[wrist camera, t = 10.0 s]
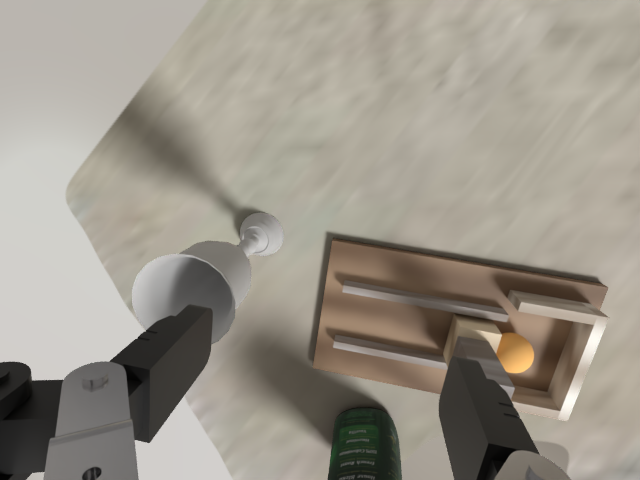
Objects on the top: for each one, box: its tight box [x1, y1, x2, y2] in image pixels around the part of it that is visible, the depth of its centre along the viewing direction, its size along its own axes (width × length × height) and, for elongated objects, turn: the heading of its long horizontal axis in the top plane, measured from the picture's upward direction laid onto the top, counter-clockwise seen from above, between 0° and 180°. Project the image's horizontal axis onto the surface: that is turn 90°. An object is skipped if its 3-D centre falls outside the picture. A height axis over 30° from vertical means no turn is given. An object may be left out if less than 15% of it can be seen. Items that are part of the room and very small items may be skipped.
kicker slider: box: [443, 313, 515, 399], centre depth 35 cm, size 5×4×10 cm
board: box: [313, 238, 609, 421], centre depth 39 cm, size 16×28×4 cm, turn 82°
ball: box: [496, 333, 534, 373], centre depth 38 cm, size 4×4×4 cm
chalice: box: [132, 212, 284, 344], centre depth 33 cm, size 7×7×18 cm
